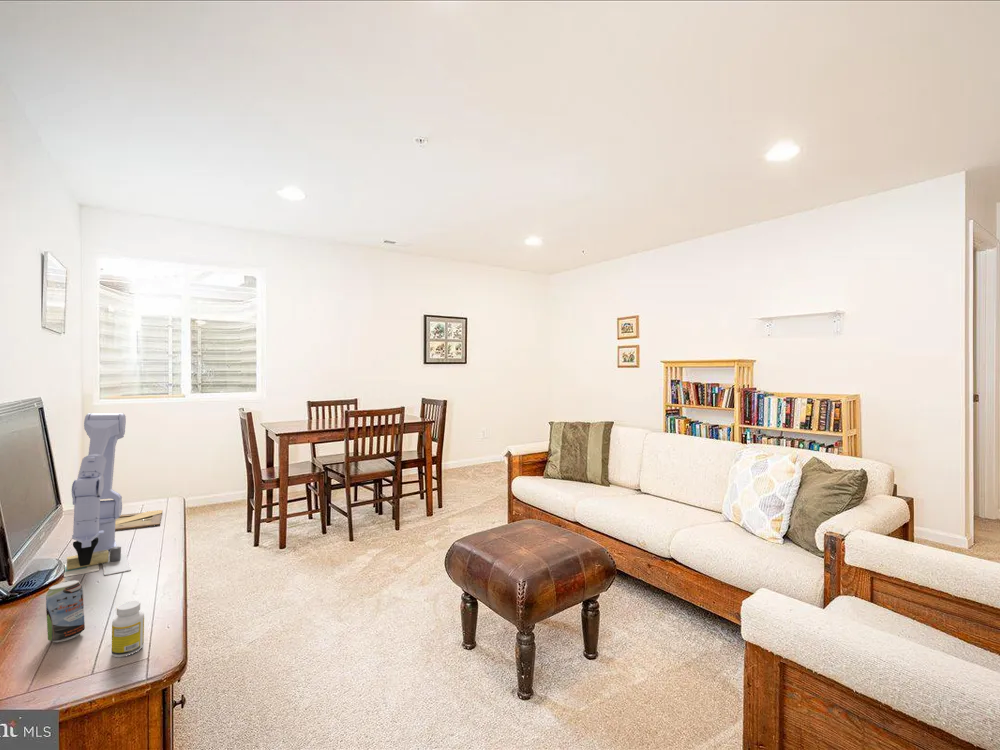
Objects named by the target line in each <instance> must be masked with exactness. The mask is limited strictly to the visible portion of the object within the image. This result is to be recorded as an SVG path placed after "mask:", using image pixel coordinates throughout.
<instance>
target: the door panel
mask: <svg viewBox="0 0 1000 750" xmlns="http://www.w3.org/2000/svg"><path fill="white" fill-rule="evenodd" d="M121 552H122V546H117V547H112V548H110V550H109V555H108V562H105V563H101V564H102V570H103V576H104V577H106V576H110V575H115V574H121V573H126V572H131V570H132V569H131V566H130V561H129V558H128V555H127V552H125V553H121ZM64 565H65V573H64V572H63V578H69V577H73V576H74V577H75V576H79V575H84V574H90V573H94V572H99V571H100V567H99V564H95V565H90V566H85V567H80V568H75V569H70V570H67V568H66V566H67V563H64Z"/></svg>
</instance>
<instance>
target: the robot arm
mask: <svg viewBox="0 0 1000 750" xmlns="http://www.w3.org/2000/svg"><path fill="white" fill-rule="evenodd" d="M126 417H127V416H126V414H124V412H118V413H115V412H114V413H110V412H109V413H106V412H105V413H103V412H102V413H101V412H100V413H99V412H98V413H96V412H95V413H93V412H88V413H86V414H85V416H84V421H83V427H84V428H83V429H84V431H85V433H86V435H87V436H88V438H89V447H88V453H87V455H86V456H84V457H83V458H82V459H81V463H80V467H79V470H78V475H77V479H74V480H73V482H72V485H71V497H72V498H71V499H72V505H73V527H72V530H73V531H72V535H71V538H72V540H74V541H73V542H72V546H73V548H74V549H75V552H76V555H78V559H79V564H80V566H86V565H90V562H91V558H92V554H93V552H97V551H102V550H108V551H110V548H112V547H118V546H117V542H116V539H115V538H116V531H115V520H116V519H118V518H119V517H120V516H121V515H122V512H123V500H122V498H123V497H122V495H121V493H119V492H117V491H115V490H114V489H113V481H114V479H113V477H114V469H115V468H114V466H115V455H116V454H115V453H116V447H117V442H118V440H120V439H123V438H124V435H126V434H125V433H126V419H127V418H126Z"/></svg>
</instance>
